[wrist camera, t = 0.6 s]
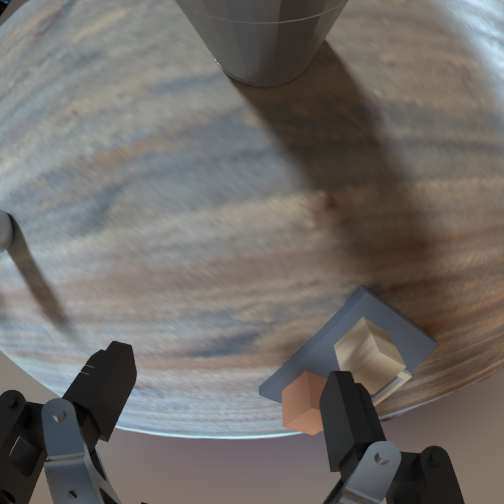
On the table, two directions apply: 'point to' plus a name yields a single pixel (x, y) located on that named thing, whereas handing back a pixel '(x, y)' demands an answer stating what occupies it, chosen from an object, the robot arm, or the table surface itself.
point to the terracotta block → (303, 403)
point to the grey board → (322, 344)
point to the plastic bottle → (5, 231)
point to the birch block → (369, 355)
